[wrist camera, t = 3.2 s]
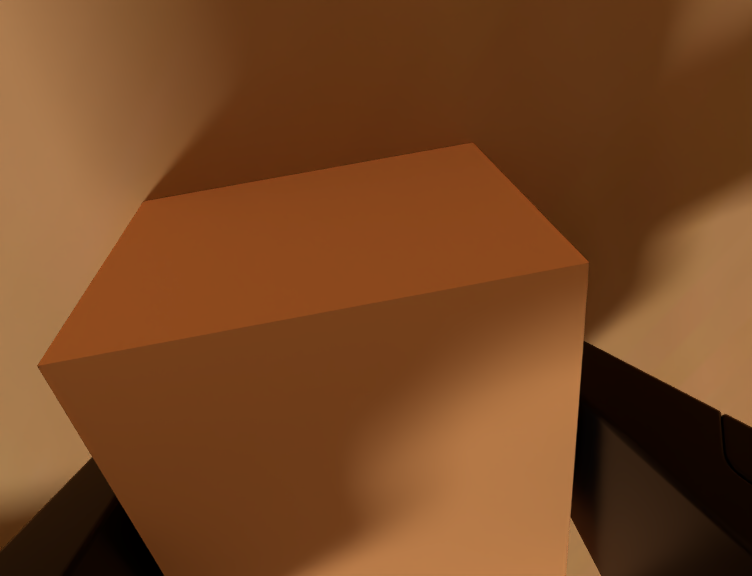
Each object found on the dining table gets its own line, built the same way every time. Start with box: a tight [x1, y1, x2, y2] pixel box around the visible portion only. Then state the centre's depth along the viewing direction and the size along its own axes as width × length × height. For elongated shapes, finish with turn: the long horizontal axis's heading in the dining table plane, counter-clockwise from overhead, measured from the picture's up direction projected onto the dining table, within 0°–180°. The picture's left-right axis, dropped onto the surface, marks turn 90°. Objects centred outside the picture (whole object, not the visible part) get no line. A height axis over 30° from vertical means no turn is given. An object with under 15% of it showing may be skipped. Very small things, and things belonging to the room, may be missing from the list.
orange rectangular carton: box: [37, 142, 589, 576], centre depth 8 cm, size 5×6×4 cm
